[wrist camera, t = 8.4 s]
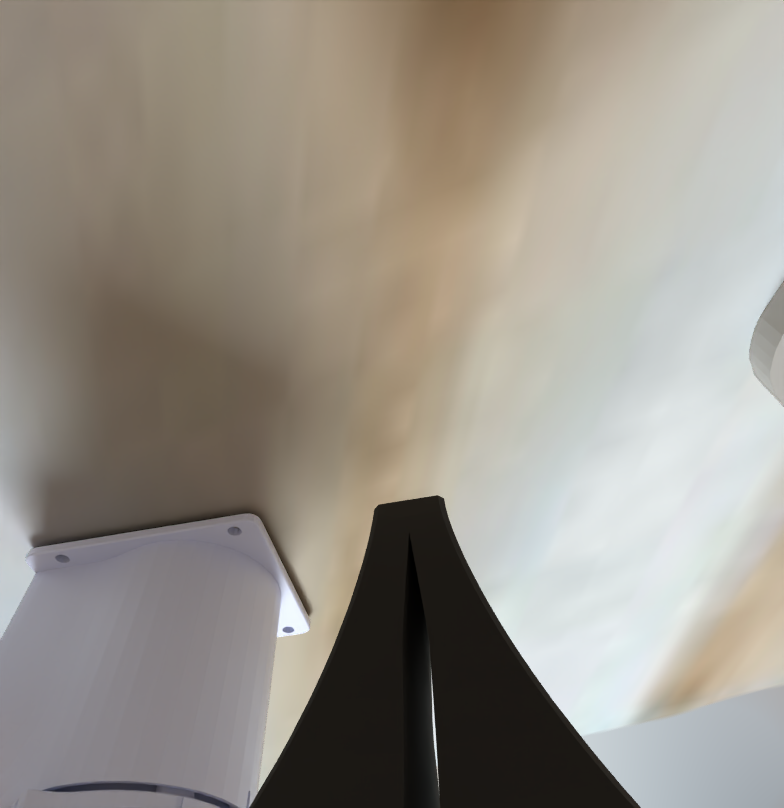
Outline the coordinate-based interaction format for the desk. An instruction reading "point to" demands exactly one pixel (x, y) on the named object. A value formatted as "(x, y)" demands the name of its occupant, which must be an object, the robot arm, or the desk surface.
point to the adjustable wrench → (770, 347)
